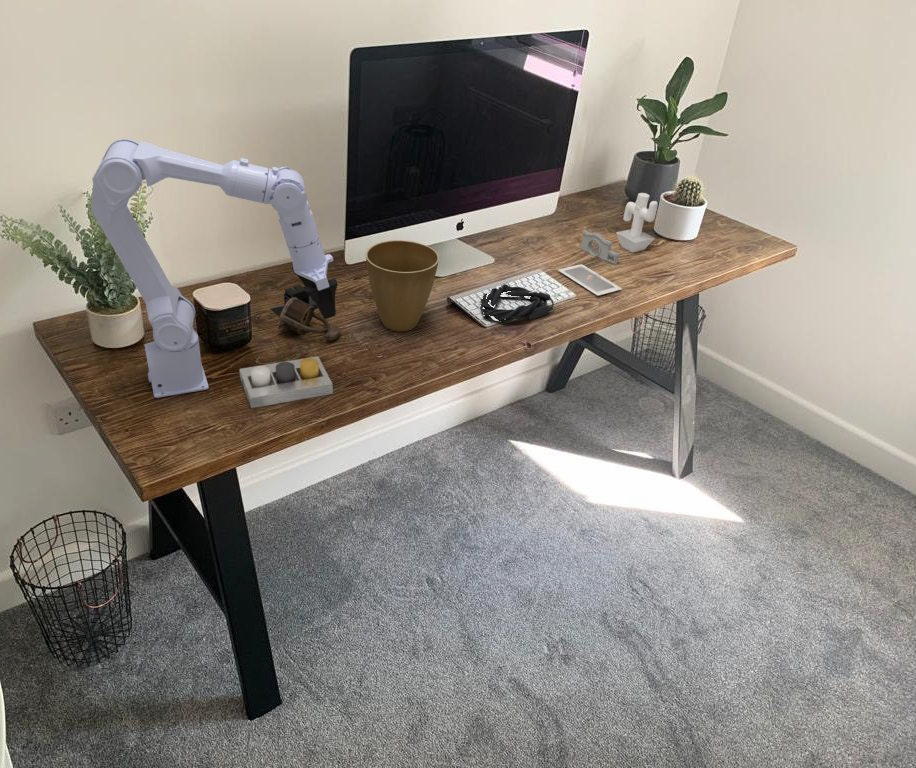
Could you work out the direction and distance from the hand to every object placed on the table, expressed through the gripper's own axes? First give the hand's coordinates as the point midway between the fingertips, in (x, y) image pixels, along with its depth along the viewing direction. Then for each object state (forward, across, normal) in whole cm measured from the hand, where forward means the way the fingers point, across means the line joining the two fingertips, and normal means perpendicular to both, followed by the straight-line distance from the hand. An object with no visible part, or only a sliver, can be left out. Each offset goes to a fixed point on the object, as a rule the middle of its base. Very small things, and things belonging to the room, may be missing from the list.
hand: (323, 307), depth 146 cm
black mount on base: (+14, +29, +2) cm, 32 cm away
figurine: (+34, +36, -88) cm, 101 cm away
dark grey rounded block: (+11, -1, +11) cm, 16 cm away
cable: (+25, +15, -42) cm, 51 cm away
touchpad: (+30, +22, -66) cm, 76 cm away
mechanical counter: (+14, +17, +2) cm, 22 cm away
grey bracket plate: (+32, +34, -76) cm, 89 cm away
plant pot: (+18, +16, -17) cm, 29 cm away
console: (+12, 0, +11) cm, 17 cm away
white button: (+10, -1, +15) cm, 18 cm away
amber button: (+12, -1, +7) cm, 14 cm away
